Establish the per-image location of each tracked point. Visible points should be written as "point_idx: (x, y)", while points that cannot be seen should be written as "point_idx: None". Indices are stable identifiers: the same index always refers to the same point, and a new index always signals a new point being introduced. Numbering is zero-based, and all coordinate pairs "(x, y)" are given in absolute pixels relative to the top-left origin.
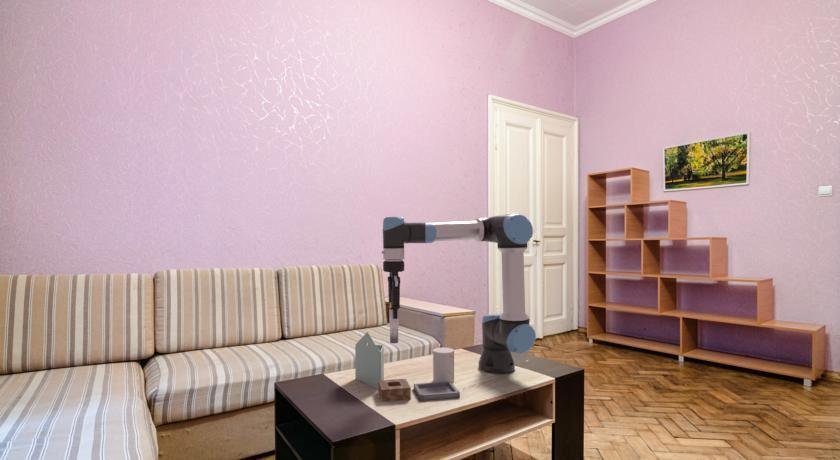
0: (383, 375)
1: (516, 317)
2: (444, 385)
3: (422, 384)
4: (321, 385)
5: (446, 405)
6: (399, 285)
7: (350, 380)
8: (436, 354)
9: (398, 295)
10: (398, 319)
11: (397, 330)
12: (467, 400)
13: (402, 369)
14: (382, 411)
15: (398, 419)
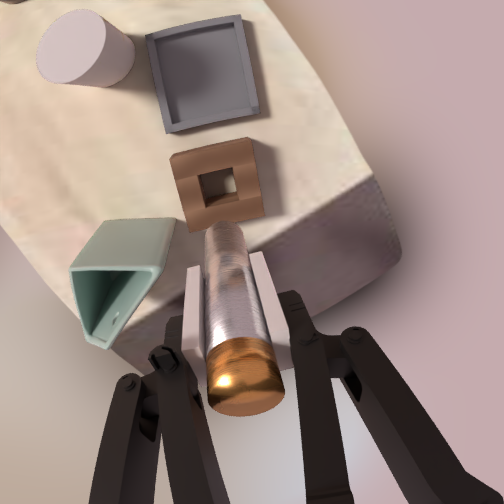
0: (111, 225)
1: None
2: (157, 51)
3: (168, 109)
4: (164, 335)
5: (290, 54)
6: (476, 482)
7: None
8: (96, 65)
9: (419, 413)
10: (271, 280)
11: (241, 250)
12: (259, 5)
13: (27, 187)
14: (315, 199)
15: (356, 165)
